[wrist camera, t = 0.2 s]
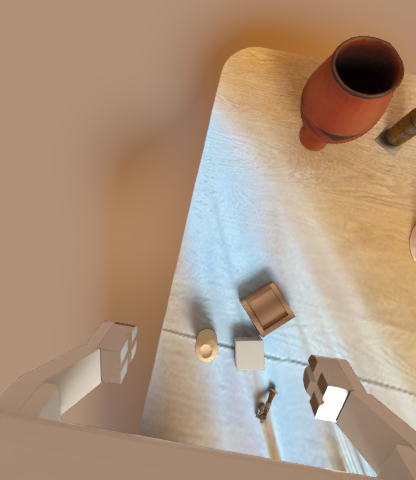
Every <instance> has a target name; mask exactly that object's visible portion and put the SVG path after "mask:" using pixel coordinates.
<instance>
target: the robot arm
mask: <svg viewBox="0 0 416 480" xmlns="http://www.w3.org/2000/svg"><path fill="white" fill-rule="evenodd" d="M136 334H137V326H134V325H128V324H124V323H118V322H111V321H107V320H105V321H104V322H103V323H102V324H101V325H100V326H99V328H98V329H97V330H96V331H95V333H94V334H93V335H92V337H91V338H90V339H89V340H88V342H87V343H86V344H85V346H79V347H77V348H75V349H73V350H71V351H69V352H68V353H65V354H64V355H62V356H60V357H58V358H56V359H54V360H52V361H50V362H48V363H46V364H44V365H42V366H40V367H38V368H36V369H35V370H32V371H30V372H29V373H27V374H25V375H23V376H21V377H19V378H18V379H17V380H16V381H15V382H14V383H13V384H12V385H11V386H10V387H9V388H8V390H7V391H6V392H5V393H4V394H3V395H2V396H1V397H0V480H416V431H415V430H414V429H413V428H411V427H410V426H409V425H408V424H406V423H405V422H404V421H403V420H402V419H400V418H399V417H398V416H397V415H396V414H394V413H393V412H392V411H391V410H390V409H388V408H387V407H386V406H385V405H384V404H382V403H381V402H380V401H379V400H378V399H376V398H375V397H374V396H373V395H371V394H368V393H367V392H366V390H365V389H364V387H363V385H362V384H361V382H360V380H359V379H358V377H357V375H356V374H355V372H354V371H353V369H352V367H351V366H350V364H349V362H348V361H347V360H345V359H338V358H330V357H324V356H317V355H311V356H310V357H309V360H308V362H309V366H308V367H306V368H305V371H304V375H303V382H304V387H305V390H306V392H307V393H308V394H309V395H310V396H311V399H310V404H311V407H312V410H313V413H314V416H315V418H319V419H324V420H329V421H334V422H336V424H337V425H338V427H339V428H340V429H341V430H342V432H343V433H344V434H345V435H346V436H347V438H348V439H349V440H350V441H351V443H352V444H353V445H354V446H355V448H356V449H357V450H358V451H359V453H360V454H361V455H362V456H363V457H364V459H365V460H366V461H367V462H368V464H369V465H370V466H371V467H372V469H373V470H374V471H375V472H376V474H377V476H376V477H370V476H365V475H359V474H354V473H348V472H343V471H337V470H331V469H326V468H320V467H315V466H309V465H303V464H298V463H292V462H287V461H281V460H275V459H270V458H264V457H259V456H253V455H247V454H242V453H236V452H230V451H225V450H219V449H213V448H208V447H202V446H197V445H191V444H186V443H180V442H174V441H169V440H163V439H158V438H152V437H147V436H141V435H135V434H129V433H125V432H119V431H113V430H108V429H102V428H97V427H90V426H85V425H79V424H74V423H69V422H63V421H62V418H61V415H62V414H63V413H64V412H66V411H67V410H68V409H69V408H70V407H72V406H73V405H74V404H75V403H77V402H78V401H79V400H80V399H82V398H83V397H84V396H85V395H87V394H88V393H89V392H90V391H91V390H92V389H94V388H95V387H96V386H97V385H99V384H100V383H101V381H102V382H109V383H116V384H121V382H122V380H123V378H124V376H125V374H126V372H127V365H128V364H129V363H130V362H132V359H133V357H134V354H135V351H136V346H137V340H136V338H135V336H136Z"/></svg>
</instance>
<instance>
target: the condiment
mask: <svg viewBox="0 0 416 480" xmlns="http://www.w3.org/2000/svg"><path fill="white" fill-rule="evenodd" d="M415 135H416V108H415V109H413V110H412V111H411V112H409V113H408V114H407V115H406V116H405V117H403V118H402V119H401V120H400V121H398V122H397V123H396V124H394V123H392V122H391V123H390V124H389V125H388V126H387V128H386V129H385V130H384V131H383V132H382V133H381V134H380V135H379V137H378V138H377V139H376V140H375V141H376V142H377V143H378V144H380V145H381V146H382V147H383V148H385V149H386V150H387V151H389V152H390V153H391V154H393V155H394V156H395V154H396V153H397V152H398V151H399V150H400V149H401V148H402V146H403V145H404V144H405V143H406V142H407V141H408V140H409V139H411V138H412V137H414V136H415ZM393 146H394V147H393Z"/></svg>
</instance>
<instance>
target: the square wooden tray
mask: <svg viewBox="0 0 416 480" xmlns="http://www.w3.org/2000/svg"><path fill="white" fill-rule="evenodd" d="M240 302H241V304H242V306H243V307H244V309H245V311H246V312H247V314H248V316H249V317H250V319H251V321H252V322H253V324H254V326H255V327H256V329H257V330H258V332H259V334H260V335H261V336H262V337H264V336H266V335H267V334H269V333H271V332H272V331H274V330H275V329H277V328H278V327H280V326H281V325H283V324H285V323H286V322H288V321H289V320H291V319H292V318H294V317H295V315H294V314H293V312H292V310H291V309H290V307H289V306H288V304H287V303H286V301H285V299H284V298H283V296H282V295H281V293H280V292H279V290H278V288H277V287H276V285H275V284H274V283H273V282H269V283H268V284H266V285H264V286H263V287H261V288H260V289H258V290H256V291H255V292H253V293H252V294H250V295H248V296H247V297H245V298H244V299H242V300H240Z"/></svg>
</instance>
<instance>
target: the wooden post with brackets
mask: <svg viewBox="0 0 416 480" xmlns="http://www.w3.org/2000/svg"><path fill="white" fill-rule="evenodd" d="M269 390H270V393H269V397H268V401H267V402H266V405H264V404H262V405H261V407H260V409H259V410H260V412H259V413H260V415H256V417H257V418H259V419H260V420H261V421H260V423H261V424H263V422H264V423H265V420H266V418H267V417H266V416H267V413H268V411H269V409H270V406H271V402H272V400H273V398H274V396H275V394H277V393H278V392H277V391H275V390H274V389H272V388H269ZM264 406H265V407H264ZM262 412H263V413H262Z"/></svg>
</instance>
